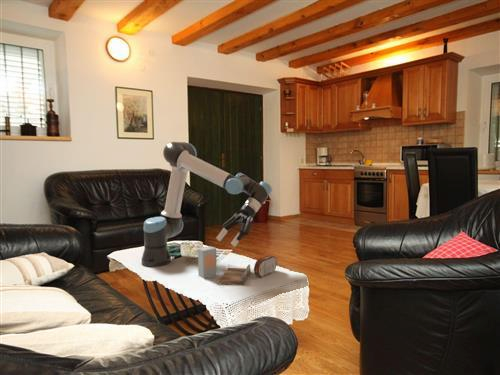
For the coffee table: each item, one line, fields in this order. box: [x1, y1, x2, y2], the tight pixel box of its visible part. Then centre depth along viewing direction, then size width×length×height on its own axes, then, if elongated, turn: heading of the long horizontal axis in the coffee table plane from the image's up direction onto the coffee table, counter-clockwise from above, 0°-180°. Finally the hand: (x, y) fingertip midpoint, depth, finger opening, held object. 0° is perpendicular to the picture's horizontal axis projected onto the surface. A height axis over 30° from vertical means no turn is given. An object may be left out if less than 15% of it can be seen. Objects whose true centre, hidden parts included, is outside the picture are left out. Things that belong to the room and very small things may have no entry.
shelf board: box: [218, 267, 251, 286], centre depth 163 cm, size 18×11×2 cm, turn 170°
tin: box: [253, 254, 278, 278], centre depth 166 cm, size 15×3×8 cm, turn 140°
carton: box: [197, 245, 218, 279], centre depth 165 cm, size 5×7×13 cm
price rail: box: [241, 264, 251, 282], centre depth 162 cm, size 18×1×2 cm, turn 170°
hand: (225, 242), depth 170 cm, fingers open, 13 cm apart
